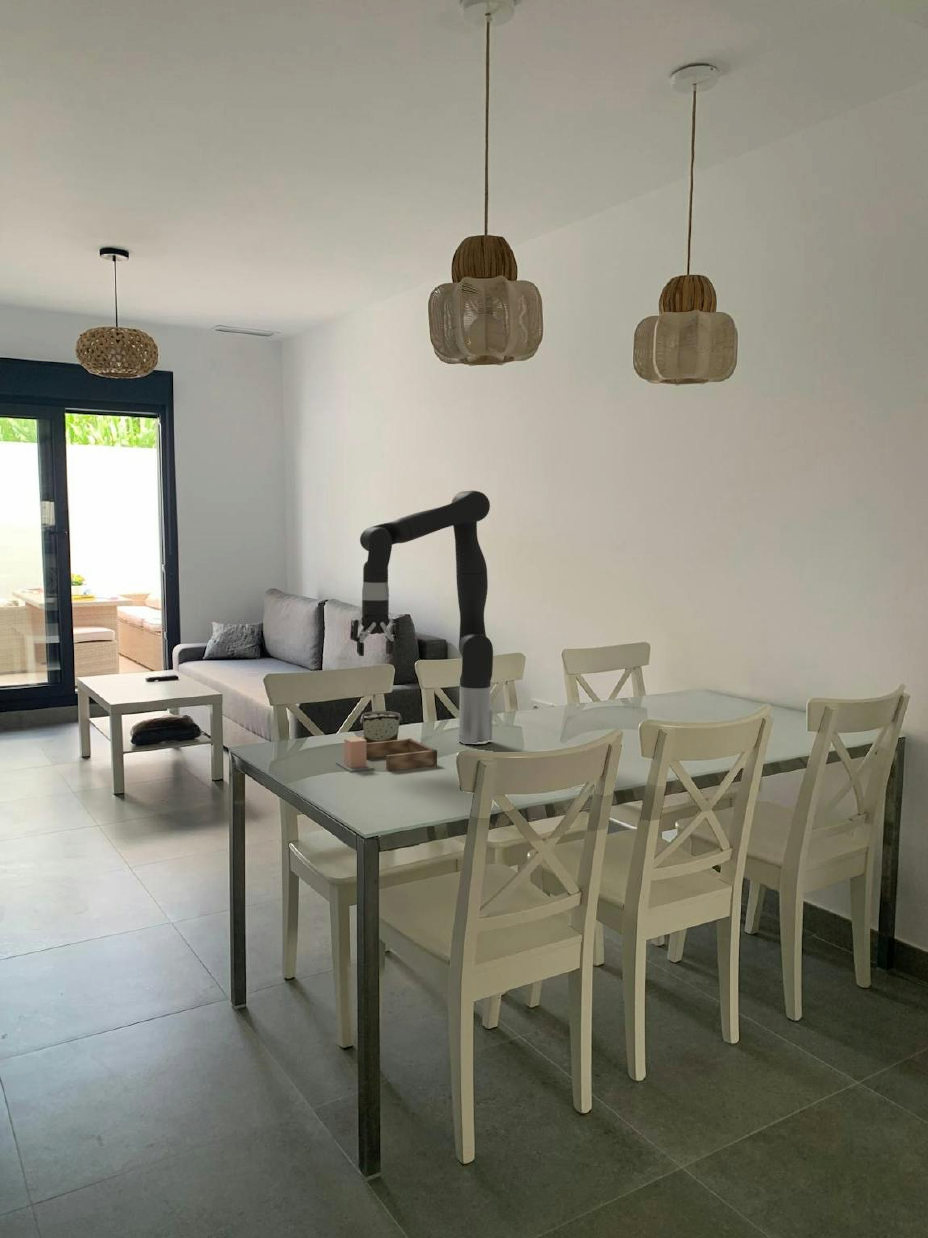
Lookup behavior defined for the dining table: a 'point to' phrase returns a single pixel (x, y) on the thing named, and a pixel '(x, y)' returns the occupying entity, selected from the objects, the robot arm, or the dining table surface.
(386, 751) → the open box
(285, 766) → the dining table surface
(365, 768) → the grey mat
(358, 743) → the terracotta block
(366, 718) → the food container
